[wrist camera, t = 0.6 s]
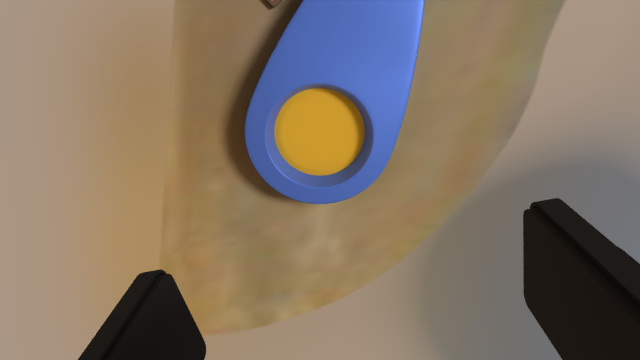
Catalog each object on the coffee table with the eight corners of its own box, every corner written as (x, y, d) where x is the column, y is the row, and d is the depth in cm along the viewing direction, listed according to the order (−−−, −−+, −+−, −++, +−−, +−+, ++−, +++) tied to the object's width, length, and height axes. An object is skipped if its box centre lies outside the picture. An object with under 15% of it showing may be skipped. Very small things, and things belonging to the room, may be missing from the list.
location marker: (321, -127, 28) (234, 166, 37) (320, -146, 25) (226, 180, 34) (478, -57, 30) (357, 207, 39) (496, -66, 26) (360, 224, 36)
